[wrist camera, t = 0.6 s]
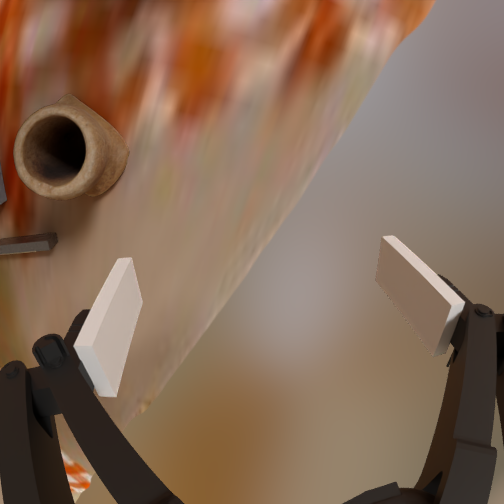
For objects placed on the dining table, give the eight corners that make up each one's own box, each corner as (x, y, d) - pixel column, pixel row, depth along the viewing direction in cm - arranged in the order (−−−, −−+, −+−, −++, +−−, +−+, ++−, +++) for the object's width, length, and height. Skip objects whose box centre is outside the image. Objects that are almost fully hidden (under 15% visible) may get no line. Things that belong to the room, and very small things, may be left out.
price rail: (-34, 243, 40) (-43, 250, 37) (55, 232, 42) (47, 240, 39) (-31, 251, 41) (-40, 259, 38) (58, 243, 43) (50, 251, 40)
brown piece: (152, 138, 38) (119, 157, 25) (99, 203, 41) (53, 249, 28) (76, 71, 32) (15, 62, 19) (29, 139, 35) (-36, 160, 22)
